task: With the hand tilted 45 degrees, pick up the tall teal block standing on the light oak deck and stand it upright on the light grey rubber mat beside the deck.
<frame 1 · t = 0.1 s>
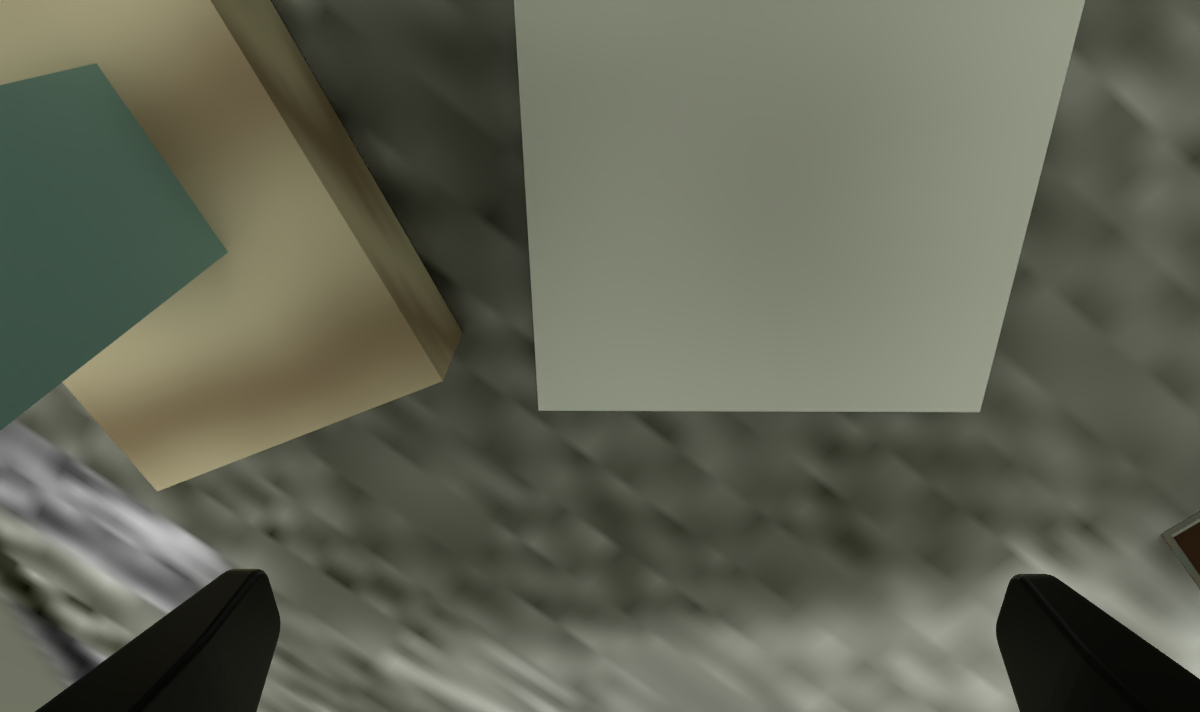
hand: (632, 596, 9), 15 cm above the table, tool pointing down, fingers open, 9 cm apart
deck: (171, 160, 22), on the table
mat: (785, 80, 20), on the table
tall teal block: (109, 191, 19), point 3 cm above the table, touching deck
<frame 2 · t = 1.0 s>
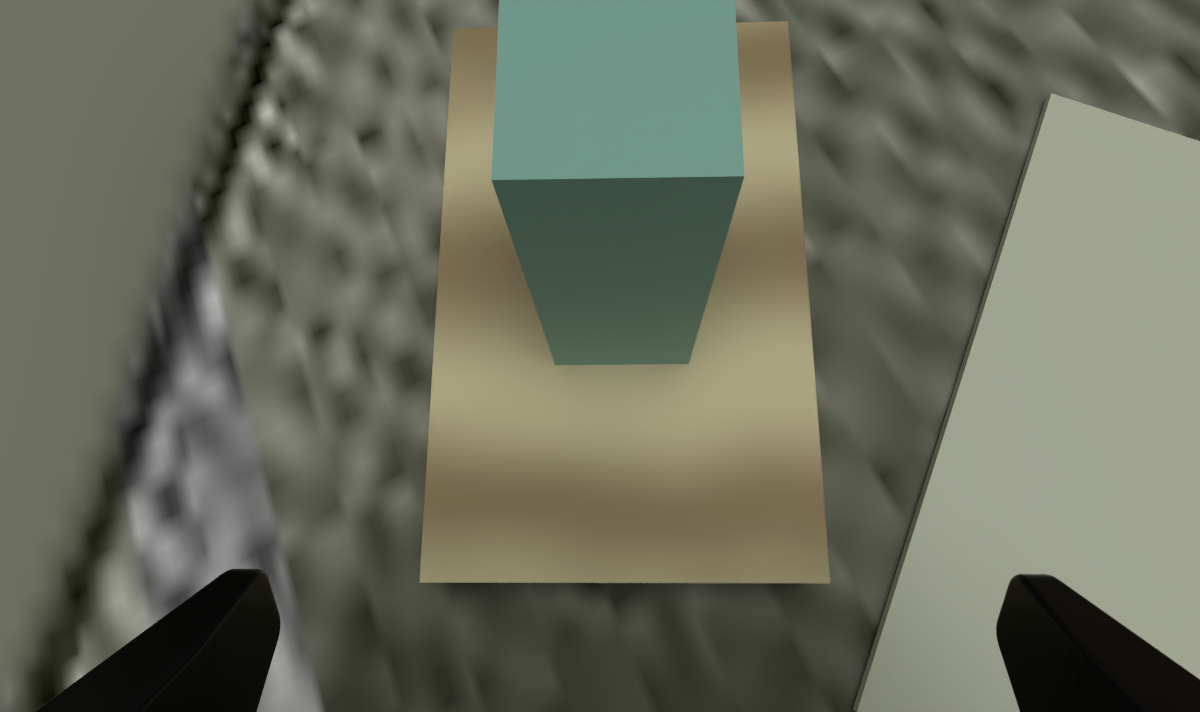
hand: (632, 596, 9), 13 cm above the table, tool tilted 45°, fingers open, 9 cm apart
deck: (621, 311, 24), on the table
mat: (1199, 465, 22), on the table
tall teal block: (621, 275, 21), point 3 cm above the table, touching deck
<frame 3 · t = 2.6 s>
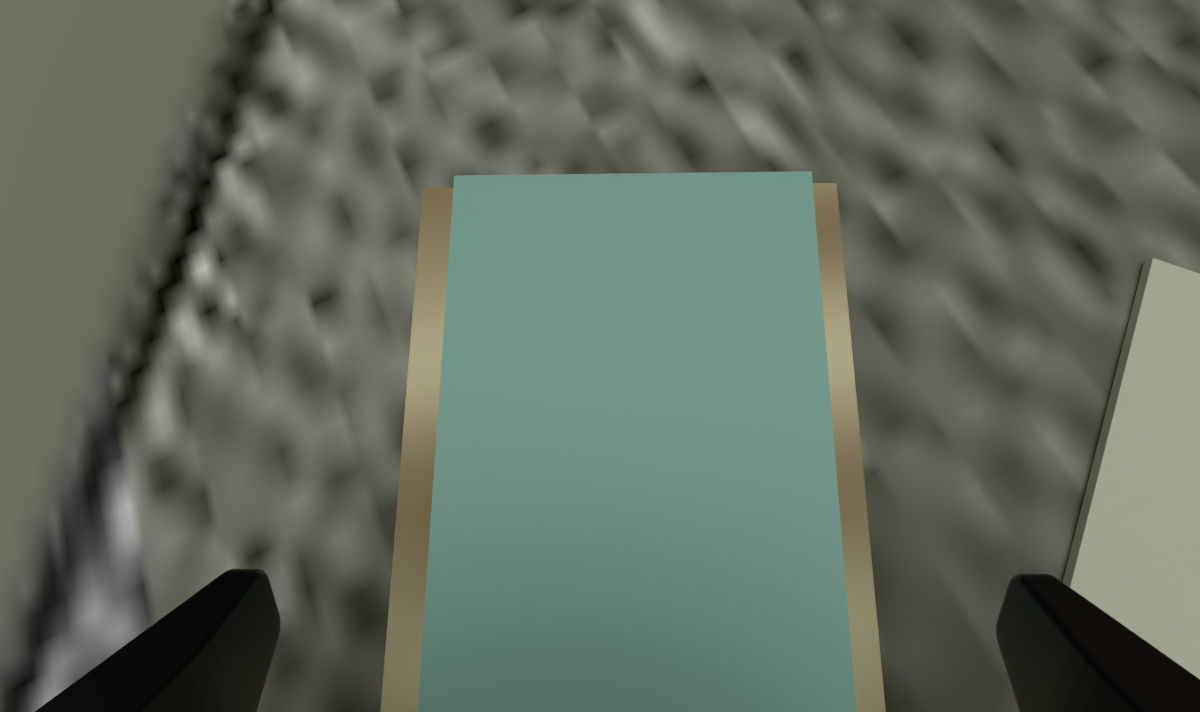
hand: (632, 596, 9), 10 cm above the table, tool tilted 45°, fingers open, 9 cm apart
deck: (629, 532, 19), on the table
tall teal block: (629, 522, 16), point 3 cm above the table, touching deck
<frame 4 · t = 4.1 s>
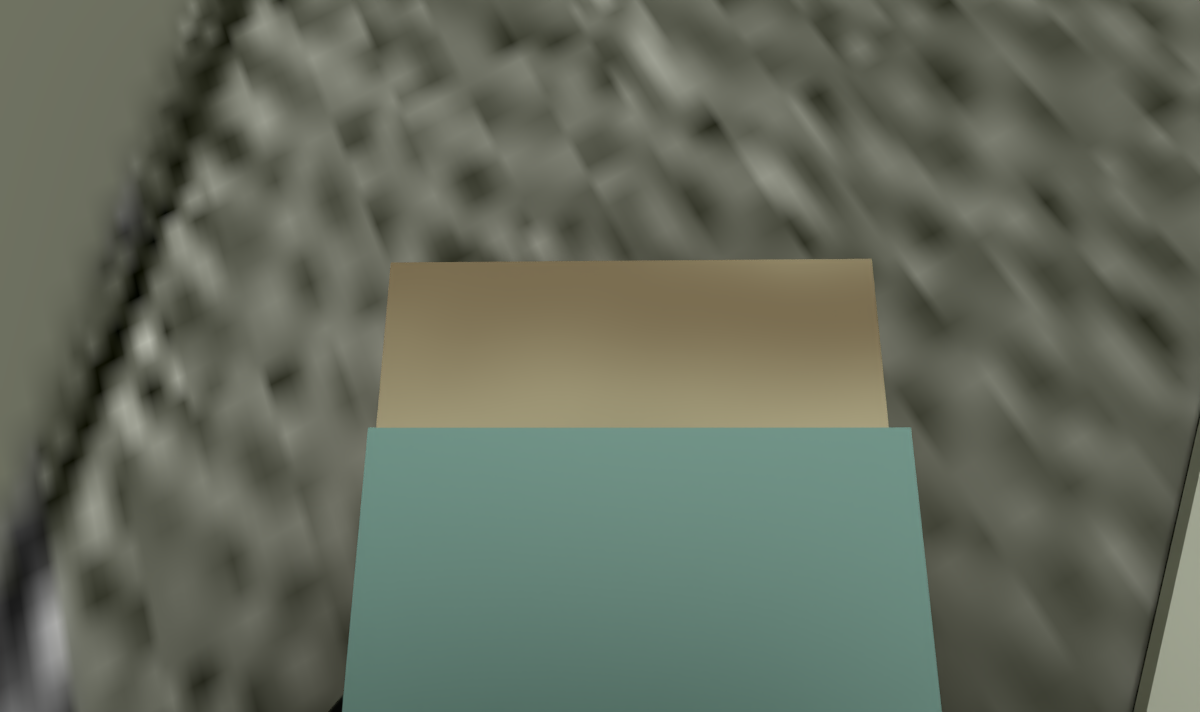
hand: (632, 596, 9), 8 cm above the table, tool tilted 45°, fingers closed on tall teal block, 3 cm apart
deck: (630, 658, 17), on the table
tall teal block: (630, 673, 14), point 3 cm above the table, touching deck, gripper
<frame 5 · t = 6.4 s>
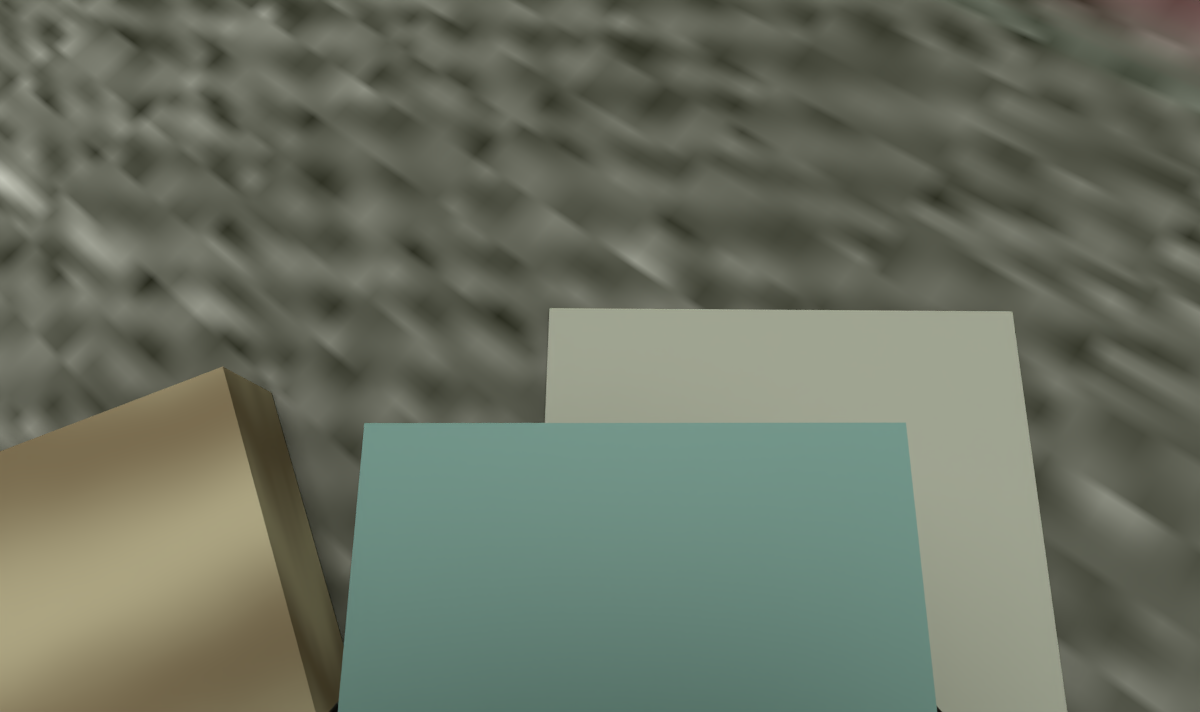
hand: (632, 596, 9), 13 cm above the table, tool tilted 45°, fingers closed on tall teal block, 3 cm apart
mat: (792, 659, 21), on the table
tall teal block: (629, 671, 14), point 8 cm above the table, touching gripper
when the fingers open (7 cm above the table, at t = 8.7 s): tall teal block drops 1 cm, resting on mat.
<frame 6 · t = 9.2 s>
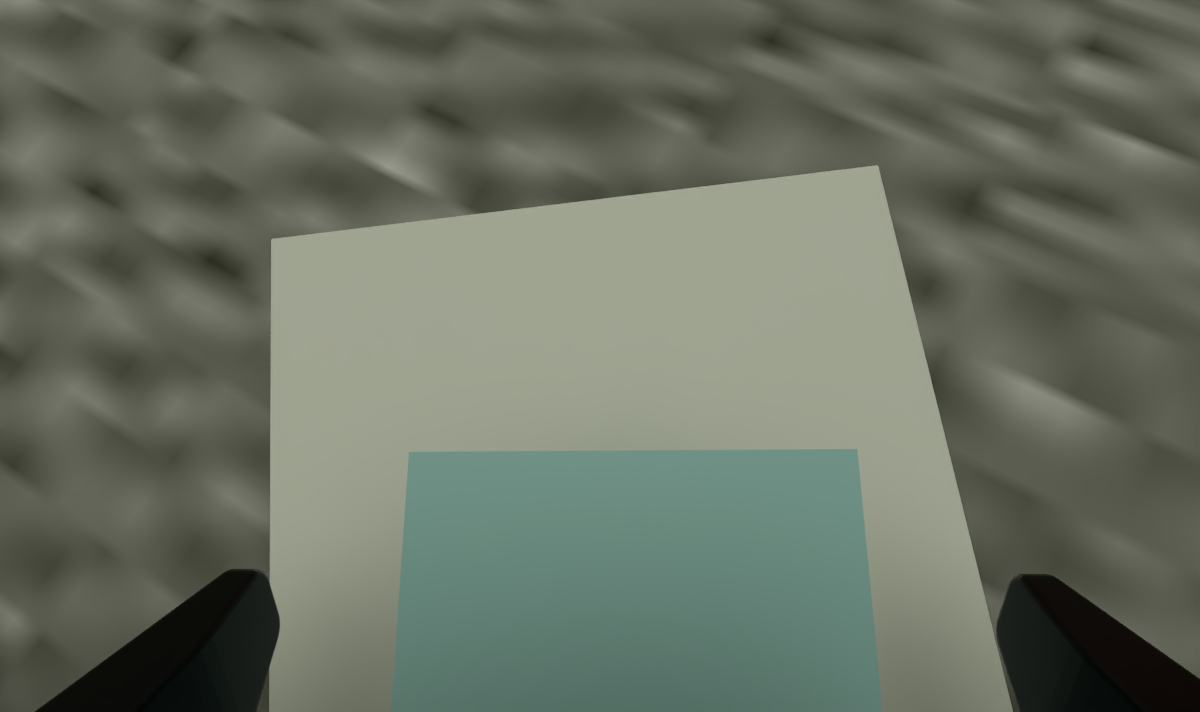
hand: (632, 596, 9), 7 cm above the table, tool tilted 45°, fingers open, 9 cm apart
mat: (630, 665, 15), on the table
tall teal block: (630, 665, 15), resting on mat
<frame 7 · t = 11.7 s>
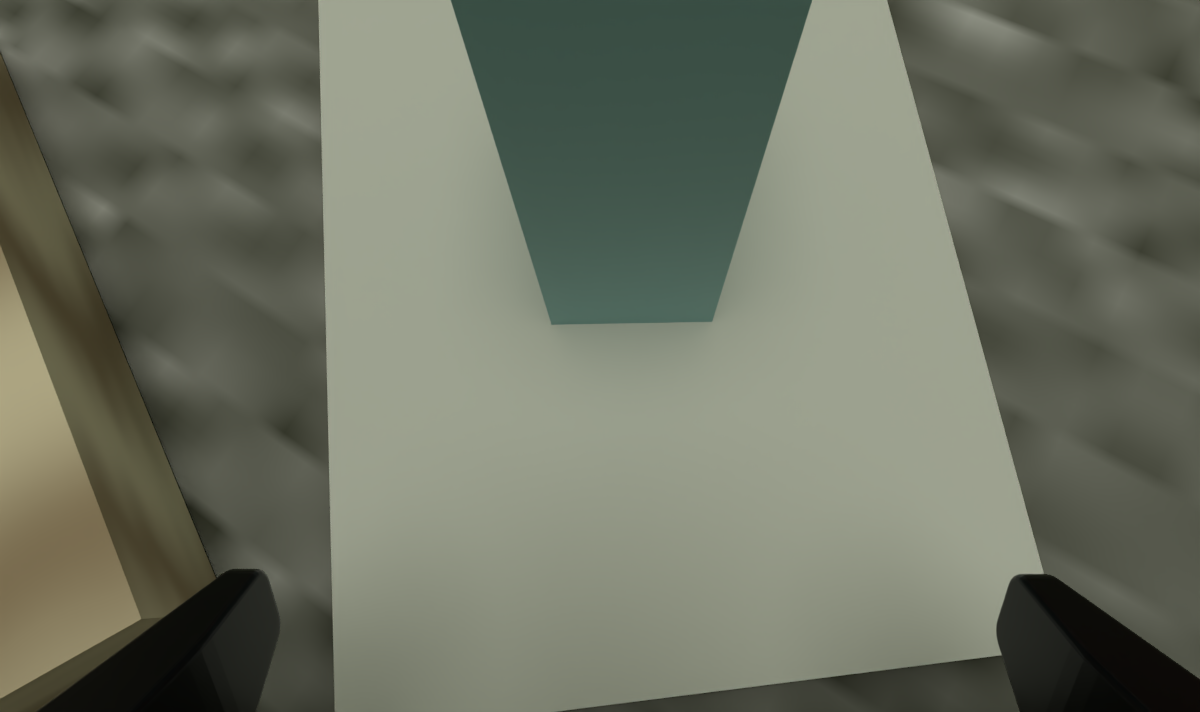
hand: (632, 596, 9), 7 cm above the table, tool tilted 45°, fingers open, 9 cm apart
mat: (629, 227, 18), on the table
tall teal block: (629, 218, 18), resting on mat
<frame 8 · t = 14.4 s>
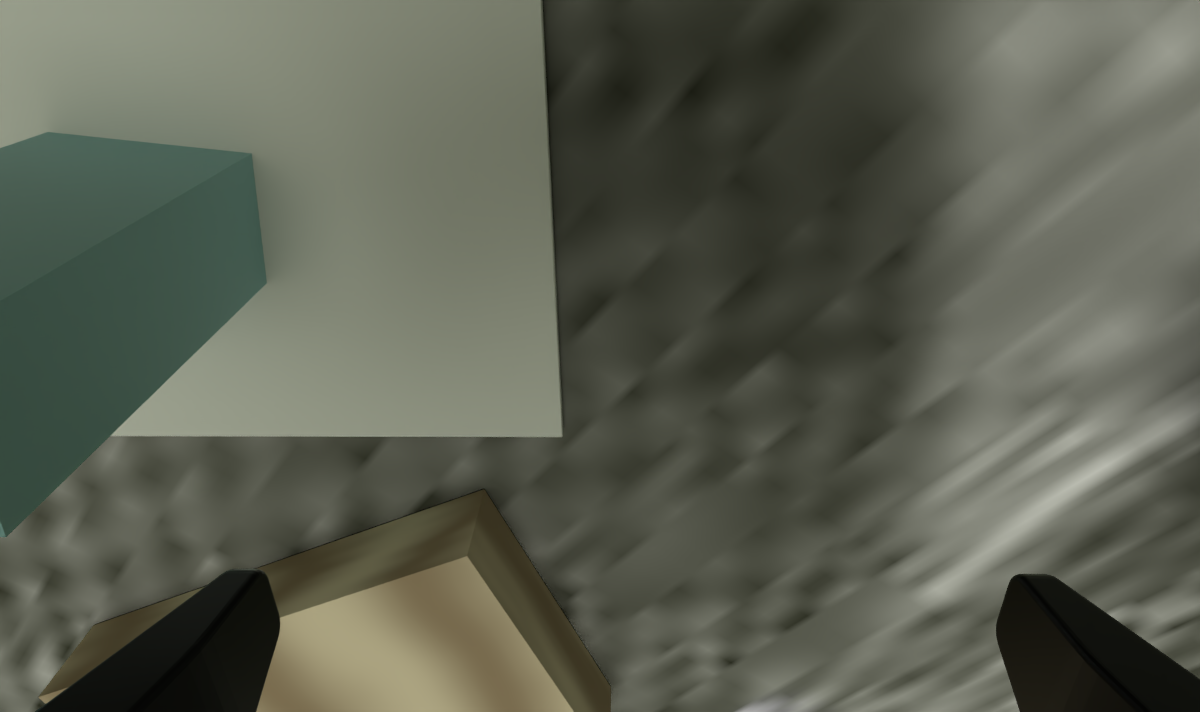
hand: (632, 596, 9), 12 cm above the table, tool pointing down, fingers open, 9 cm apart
deck: (355, 656, 28), on the table
mat: (171, 206, 20), on the table
tall teal block: (162, 210, 20), resting on mat
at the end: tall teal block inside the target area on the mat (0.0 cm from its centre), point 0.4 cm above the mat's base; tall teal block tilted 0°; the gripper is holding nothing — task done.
